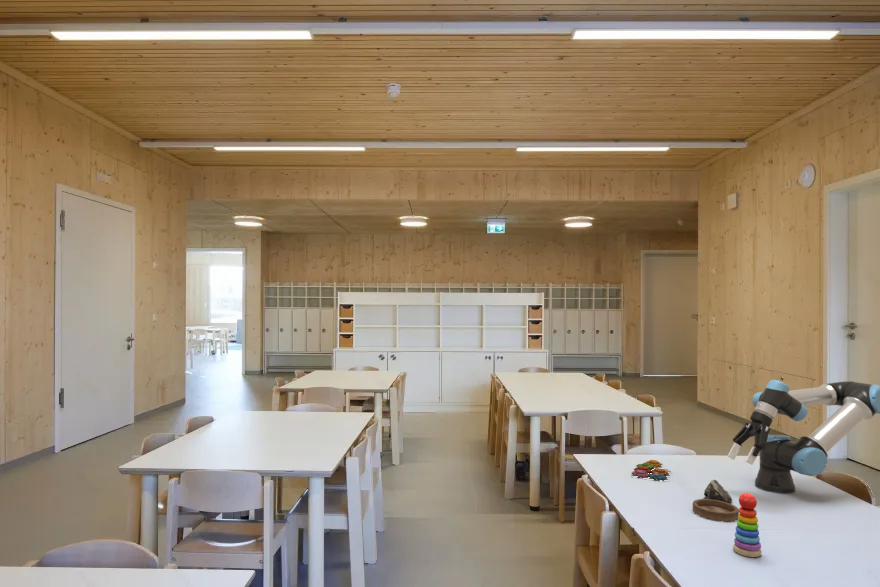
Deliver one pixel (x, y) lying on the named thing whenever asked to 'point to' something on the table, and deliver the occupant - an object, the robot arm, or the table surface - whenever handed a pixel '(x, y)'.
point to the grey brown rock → (717, 492)
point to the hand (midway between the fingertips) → (739, 460)
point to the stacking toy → (747, 528)
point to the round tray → (715, 510)
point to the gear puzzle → (646, 468)
